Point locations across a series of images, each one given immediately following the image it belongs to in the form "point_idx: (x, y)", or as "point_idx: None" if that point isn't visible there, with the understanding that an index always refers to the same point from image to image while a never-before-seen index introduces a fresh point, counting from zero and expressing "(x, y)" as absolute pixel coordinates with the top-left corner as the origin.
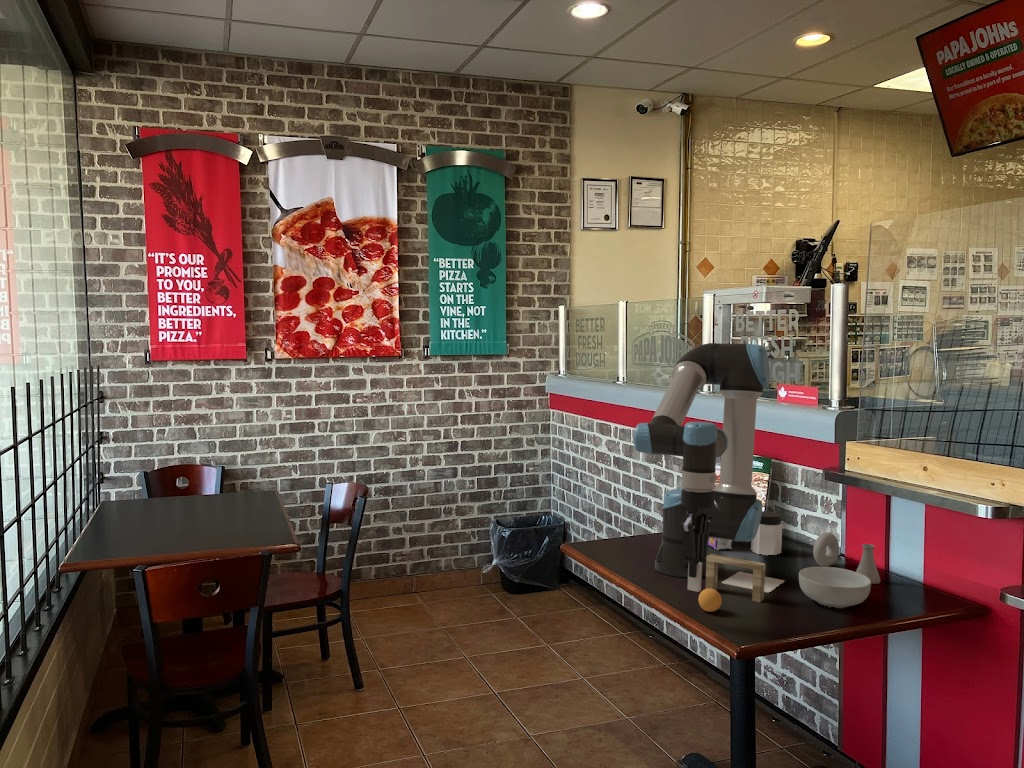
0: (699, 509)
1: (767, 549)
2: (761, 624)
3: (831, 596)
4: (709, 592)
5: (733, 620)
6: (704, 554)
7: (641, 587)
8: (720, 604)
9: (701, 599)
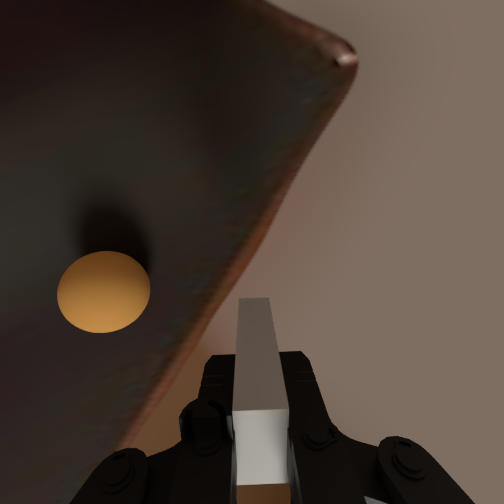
0: None
1: None
2: (105, 88)
3: None
4: (110, 300)
5: (143, 184)
6: (140, 489)
7: None
8: (104, 251)
9: (142, 308)
